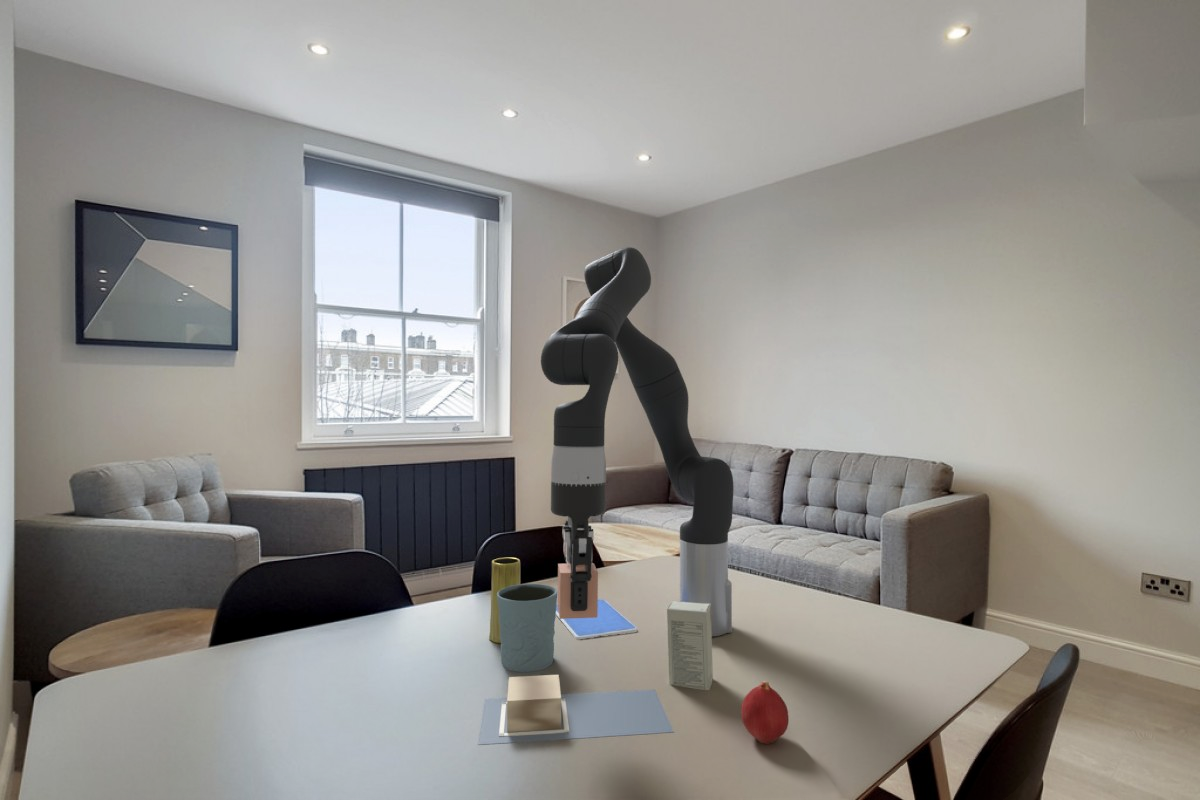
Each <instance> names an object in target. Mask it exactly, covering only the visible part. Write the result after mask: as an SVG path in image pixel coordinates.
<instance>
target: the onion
mask: <svg viewBox="0 0 1200 800" xmlns="http://www.w3.org/2000/svg"><path fill="white" fill-rule="evenodd" d="M740 714H741V715H740V716H741V721H742V724H743V726H744V727H745V729H746V730H747V732H748V733H749V735H751V736H752V737H753V738H755V739H756V740H757V742H759V743H761V744H767V745H768V744H772V743H773V742H775V741H776V740H778V739H779V738H781V736H783V735H784V734H785V732H786V731H787V729H788V727H789V720H790V719H789V711H788V707H787V703H786V702H785V701H784V700H783V698H782V697H781V695H780V693H779V692H778V691H776V690H775V689H773V688H772V687H771V686H770V684H769V681H766V680H763V681H762V682H761V683H760V684H759V685H758V686H756V687H754V688H752V689H751V690H750V691H749V692H748V693H747V694H746V695H745V696H744V699H743V700H742V704H741V713H740Z"/></svg>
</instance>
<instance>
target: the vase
mask: <svg viewBox="0 0 1200 800" xmlns="http://www.w3.org/2000/svg"><path fill="white" fill-rule="evenodd" d="M514 585H521V560H520V559H519V558H517V557H511V556H510V557H508V556H507V557H498V558H496V559H492V560H491V593H490V595H491V596H490V618H489V619H490V620H489V622H490V623H489V624H490V626H489V636H488V639H489V640H490V641H491V642H493V643H496V644H501V639H500V623H499V611H498V602H497V593H498V591H500V590H501V589H503V588H506V587H509V586H514Z"/></svg>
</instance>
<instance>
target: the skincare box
mask: <svg viewBox="0 0 1200 800" xmlns="http://www.w3.org/2000/svg"><path fill="white" fill-rule="evenodd" d="M666 615H667V619H666V620H667V621H666V622H667V649H668V650H667V651H668V652H667V653H668V654H667V656H668V681H669V682H668V683H669V685H670V686H675V687H681V688H687V689H695V690H702V691H710V689H711V686H712V684H713V680H714V677H713V676H714V675H713V673H714V672H713V641H712V640H713V636H712V631H711V604H706V603H694V602H681V601H680V600H679V601H677V600H673V601H672V602H671V603H670V604H669V605H668V606H667V608H666Z"/></svg>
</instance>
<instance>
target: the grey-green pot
mask: <svg viewBox="0 0 1200 800" xmlns="http://www.w3.org/2000/svg"><path fill="white" fill-rule="evenodd" d="M497 602H498V611H499V623H500V639H501V643H500V657H501V659H500V661H501V665H502V666H503V668H505V669H507V670H511V671H514V672H521V673H524V672H528V673H529V672H537V671H540V670H541V671H542V670H543V669H545V668H548V667H549V666H551V665H552V663H553V662H554V654H555V642H554V641H555V640H554V636H555V633H556V631H555V622H556V617H557V615H556V605H557V604H558V589H556V587H553V586H551V585H546V584H542V583H540V584H539V583H523V584H521V583H520V585H514V586H509V587H506V588H503V589H501V590H500V591H498V593H497Z"/></svg>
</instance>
